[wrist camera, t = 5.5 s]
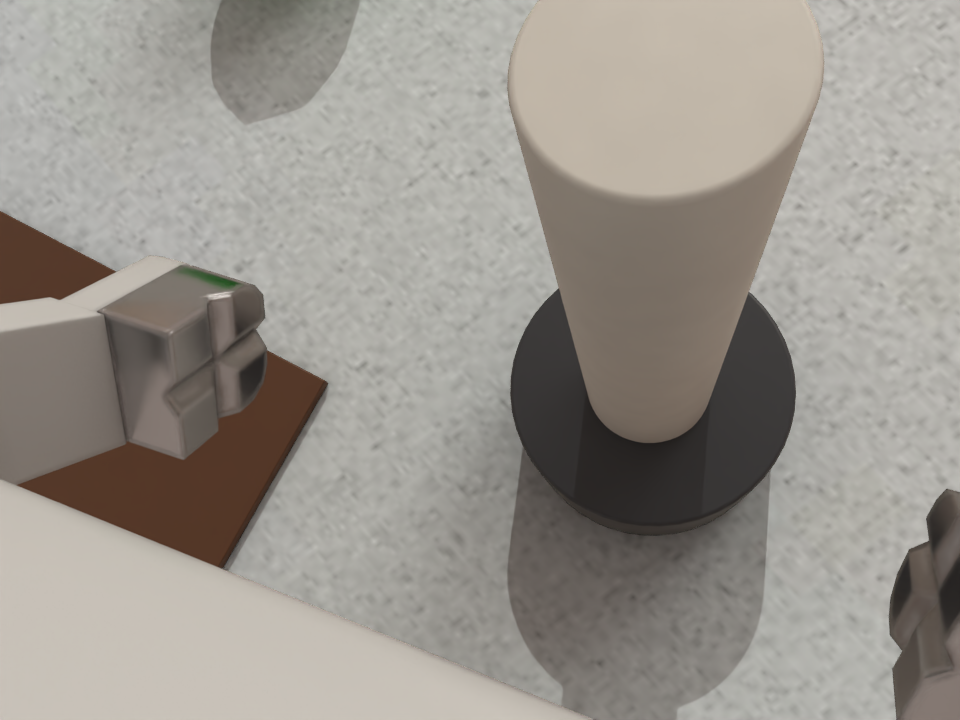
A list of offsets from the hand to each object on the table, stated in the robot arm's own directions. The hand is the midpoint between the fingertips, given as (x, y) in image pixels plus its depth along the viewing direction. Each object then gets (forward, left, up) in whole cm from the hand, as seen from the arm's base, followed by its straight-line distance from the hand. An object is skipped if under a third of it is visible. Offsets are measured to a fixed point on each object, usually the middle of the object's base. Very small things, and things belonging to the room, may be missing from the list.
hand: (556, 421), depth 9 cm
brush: (+3, 0, -11) cm, 11 cm away
